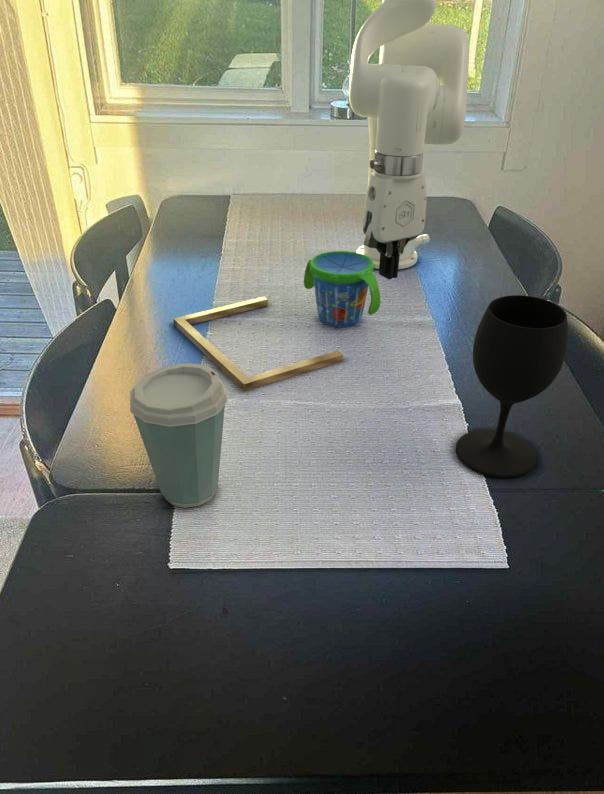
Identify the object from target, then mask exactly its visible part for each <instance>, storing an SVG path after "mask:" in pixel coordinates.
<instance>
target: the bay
mask: <svg viewBox="0 0 604 794" xmlns="http://www.w3.org/2000/svg"><path fill="white" fill-rule="evenodd" d="M268 305H269V302H268V298H267V297H265V296H259V297H256V298H251V299H247V300H244V301H238V302H235V303H231V304H227V305H223V306H219V307H215V308H210V309H206V310H202V311H198V312H194V313H189V314H186V315H182V316H177V317H173V318H172V320H173V321H172V322H173V326H174V327H175V328H177V329H178V330H179V331H180V332H181V333H182V334H183V335H184V336H185V337H186V338H187V339H188V340H189V341H190V342H191V343H193V345H194V346H196V347H197V348H198V349H199V350H200V352H202V353H203V354H204V355H205V356H206V357H208V359H209V360H210V361H211V362H213V364H215V365H216V366H217V367H218V368H219V369H220V370H221V371H222V372H223V373H224V374H226V376H227V377H228V378H229V379H231V380H232V381H233V382H234V383H235V384H236V385H237V386H238V387H239V388H240V389H241V390H242V391H243V392H246V391H250V390H252V389H253V390H254V389H256V388H259V387H263V386H266V385H269V384H273V383H276V382H279V381H282V380H286V379H288V378H292V377H295V376H298V375H302V374H305V373H308V372H312V371H315V370H318V369H322V368H324V367H328V366H331V365H334V364H338V363H341V362H344V361H343V360H344V354H343V353H342V352H340V351H339V350H335V351H331V352H327V353H326V354H321V355H318V356H314V357H311V358H308V359H305V360H301V361H298V362H294V363H292V364H287V365H284V366H281V367H278V368H277V367H276V368H275V369H271V370H267V371H263V372H261V373H257V374H254V375H251V376H247V375H246V374H245V373H244V372H243V371H242V370H241V369H240V368H239V367H238V366H236V365H235V364H234V363H233V362H232V361H231V360H230V359H229V358H228V357H226V356H225V355H224V354H223V353H222V352H221V351H220V350H219V349H218V348H217V347H216V346H215V345H213V343H211V342H210V341H209V340H208V339H207V338H205V336H203V334H201V333H200V332H199V331H198V330H197V329H195V327H194V326H192V325H196V324H200V323H204V322H208V321H212V320H215V319H220V318H223V317H227V316H228V317H229V316H231V315H235V314H241V313H244V312H249V311H252V310H255V309H260V308H263V307H267V306H268Z"/></svg>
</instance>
